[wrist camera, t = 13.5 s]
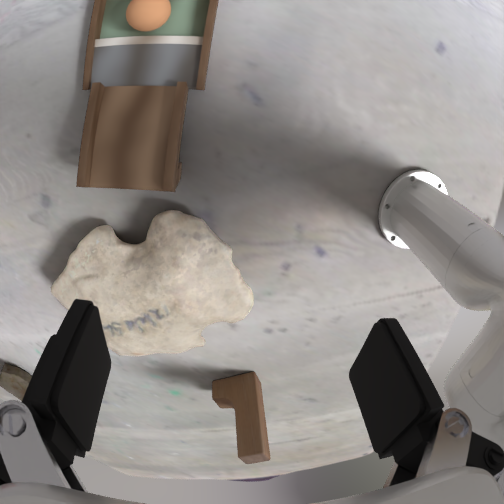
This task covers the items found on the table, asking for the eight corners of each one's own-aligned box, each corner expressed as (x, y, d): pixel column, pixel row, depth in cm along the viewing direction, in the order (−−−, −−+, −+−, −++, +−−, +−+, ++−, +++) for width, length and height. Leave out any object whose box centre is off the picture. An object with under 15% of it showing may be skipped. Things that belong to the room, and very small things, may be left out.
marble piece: (41, 404, 64) (37, 415, 60) (0, 376, 58) (-5, 387, 54) (55, 386, 59) (51, 399, 55) (8, 354, 53) (1, 366, 49)
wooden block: (220, 391, 60) (222, 468, 44) (211, 380, 58) (211, 460, 42) (261, 382, 59) (271, 460, 44) (254, 370, 57) (263, 453, 41)
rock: (270, 303, 49) (126, 356, 54) (192, 168, 36) (39, 262, 41) (277, 338, 43) (119, 387, 47) (186, 189, 30) (18, 290, 35)
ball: (162, 16, 22) (173, -18, 21) (115, 19, 21) (128, -15, 21) (168, 38, 27) (177, 6, 26) (126, 39, 26) (136, 7, 26)
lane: (221, -16, 25) (220, -37, 19) (194, 180, 37) (188, 201, 31) (104, -12, 23) (80, -27, 17) (87, 175, 35) (63, 194, 29)
